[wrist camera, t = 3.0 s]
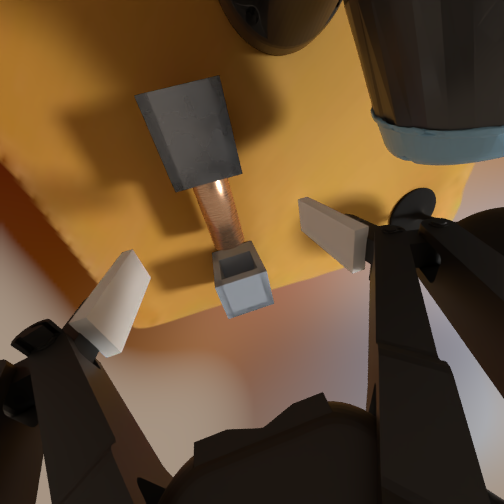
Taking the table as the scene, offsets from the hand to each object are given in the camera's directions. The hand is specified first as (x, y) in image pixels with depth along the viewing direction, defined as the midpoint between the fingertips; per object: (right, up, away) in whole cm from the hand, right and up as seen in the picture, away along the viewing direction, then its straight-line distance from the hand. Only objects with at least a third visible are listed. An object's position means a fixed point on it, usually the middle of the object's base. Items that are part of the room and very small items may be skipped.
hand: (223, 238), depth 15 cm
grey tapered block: (-5, +14, +11) cm, 19 cm away
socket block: (-1, -3, +21) cm, 22 cm away
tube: (-3, +8, +10) cm, 14 cm away
